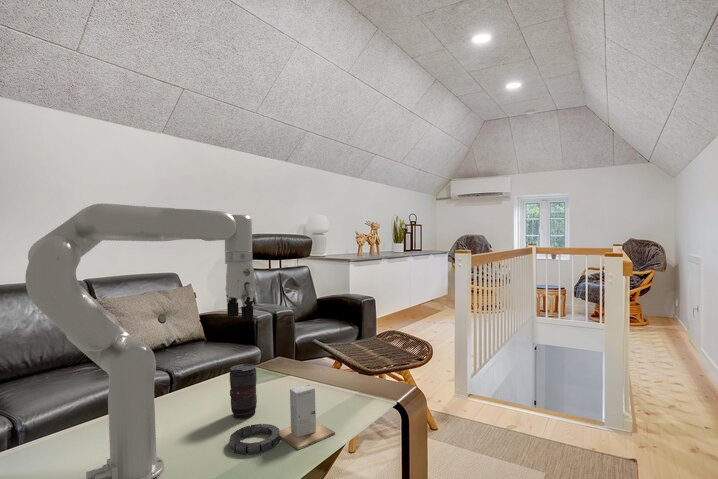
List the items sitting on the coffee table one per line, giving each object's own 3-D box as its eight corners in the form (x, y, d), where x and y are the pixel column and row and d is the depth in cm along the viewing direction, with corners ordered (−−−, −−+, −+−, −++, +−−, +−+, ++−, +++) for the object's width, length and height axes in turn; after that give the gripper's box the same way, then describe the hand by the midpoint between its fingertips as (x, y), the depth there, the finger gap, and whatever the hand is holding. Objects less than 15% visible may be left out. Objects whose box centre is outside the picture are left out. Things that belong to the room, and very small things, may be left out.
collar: (243, 460, 101) (243, 452, 101) (222, 442, 111) (221, 434, 111) (288, 441, 110) (288, 434, 110) (265, 426, 119) (265, 419, 119)
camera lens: (250, 420, 124) (248, 371, 124) (226, 419, 125) (224, 370, 125) (262, 409, 132) (260, 363, 132) (239, 408, 133) (237, 362, 133)
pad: (298, 449, 105) (298, 447, 105) (274, 434, 114) (274, 432, 114) (335, 434, 113) (335, 431, 113) (310, 420, 122) (310, 418, 122)
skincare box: (297, 438, 110) (295, 393, 110) (290, 432, 114) (288, 388, 114) (317, 431, 114) (315, 388, 114) (310, 426, 117) (308, 383, 117)
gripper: (265, 257, 112) (266, 320, 112) (238, 257, 125) (239, 313, 125) (239, 259, 107) (240, 324, 107) (214, 258, 120) (215, 316, 120)
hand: (240, 318), depth 116 cm, fingers open, 9 cm apart
